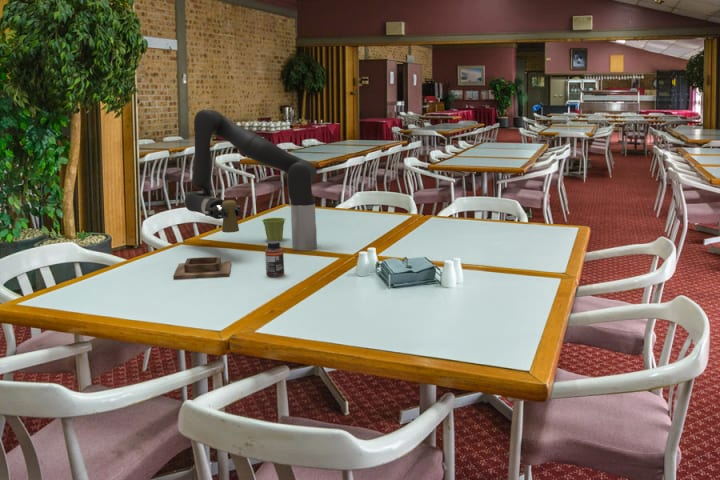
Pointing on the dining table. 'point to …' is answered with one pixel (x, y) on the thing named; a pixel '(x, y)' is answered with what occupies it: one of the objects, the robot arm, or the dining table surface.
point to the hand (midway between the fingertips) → (232, 213)
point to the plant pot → (274, 228)
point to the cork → (230, 217)
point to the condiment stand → (203, 268)
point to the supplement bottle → (274, 259)
